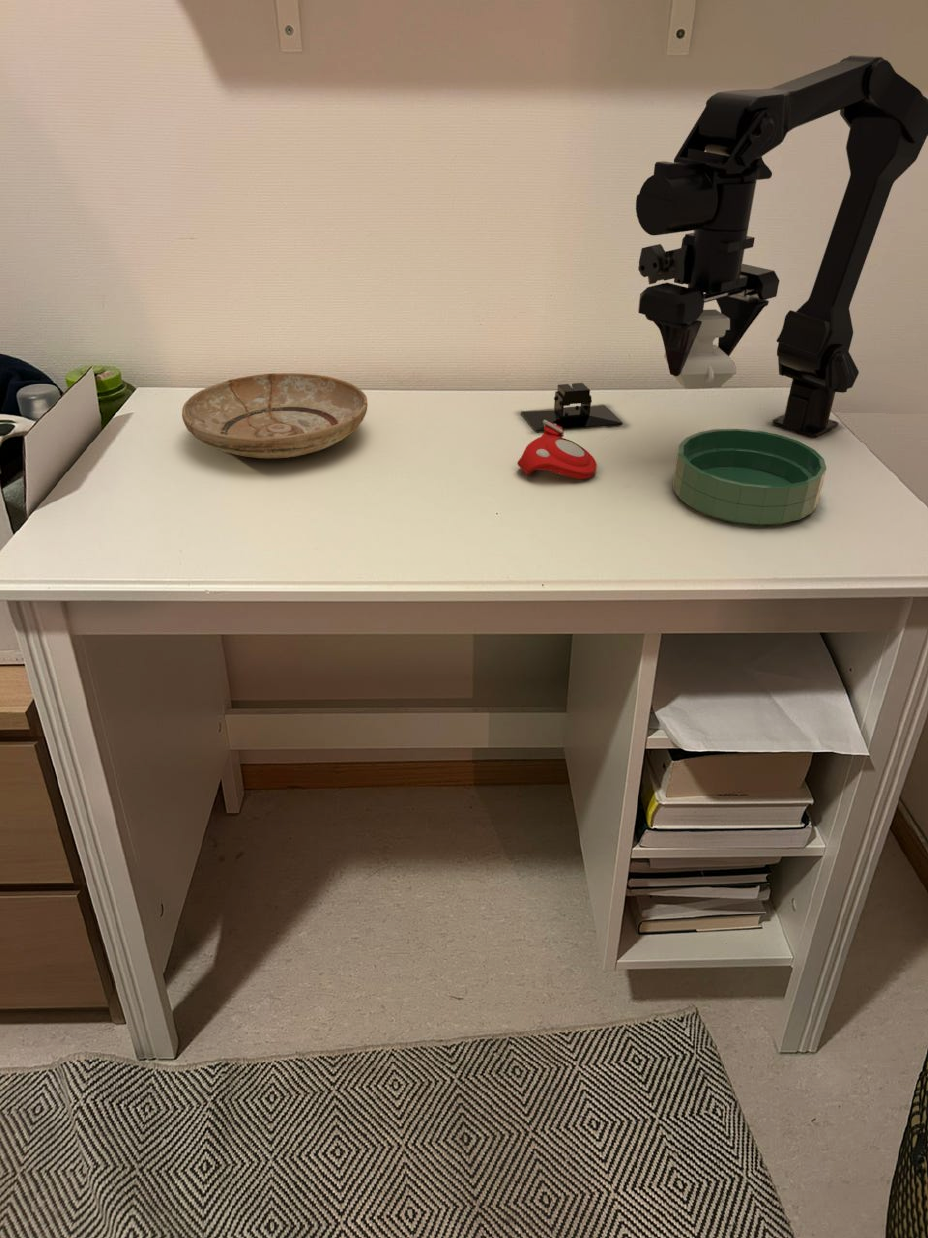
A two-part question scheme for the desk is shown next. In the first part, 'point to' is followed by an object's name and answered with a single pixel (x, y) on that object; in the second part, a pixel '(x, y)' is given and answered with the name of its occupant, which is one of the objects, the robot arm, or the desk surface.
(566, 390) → the build plate
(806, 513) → the green bowl
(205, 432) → the ceramic bowl
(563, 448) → the tracker holder
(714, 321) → the stamp
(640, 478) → the desk surface
